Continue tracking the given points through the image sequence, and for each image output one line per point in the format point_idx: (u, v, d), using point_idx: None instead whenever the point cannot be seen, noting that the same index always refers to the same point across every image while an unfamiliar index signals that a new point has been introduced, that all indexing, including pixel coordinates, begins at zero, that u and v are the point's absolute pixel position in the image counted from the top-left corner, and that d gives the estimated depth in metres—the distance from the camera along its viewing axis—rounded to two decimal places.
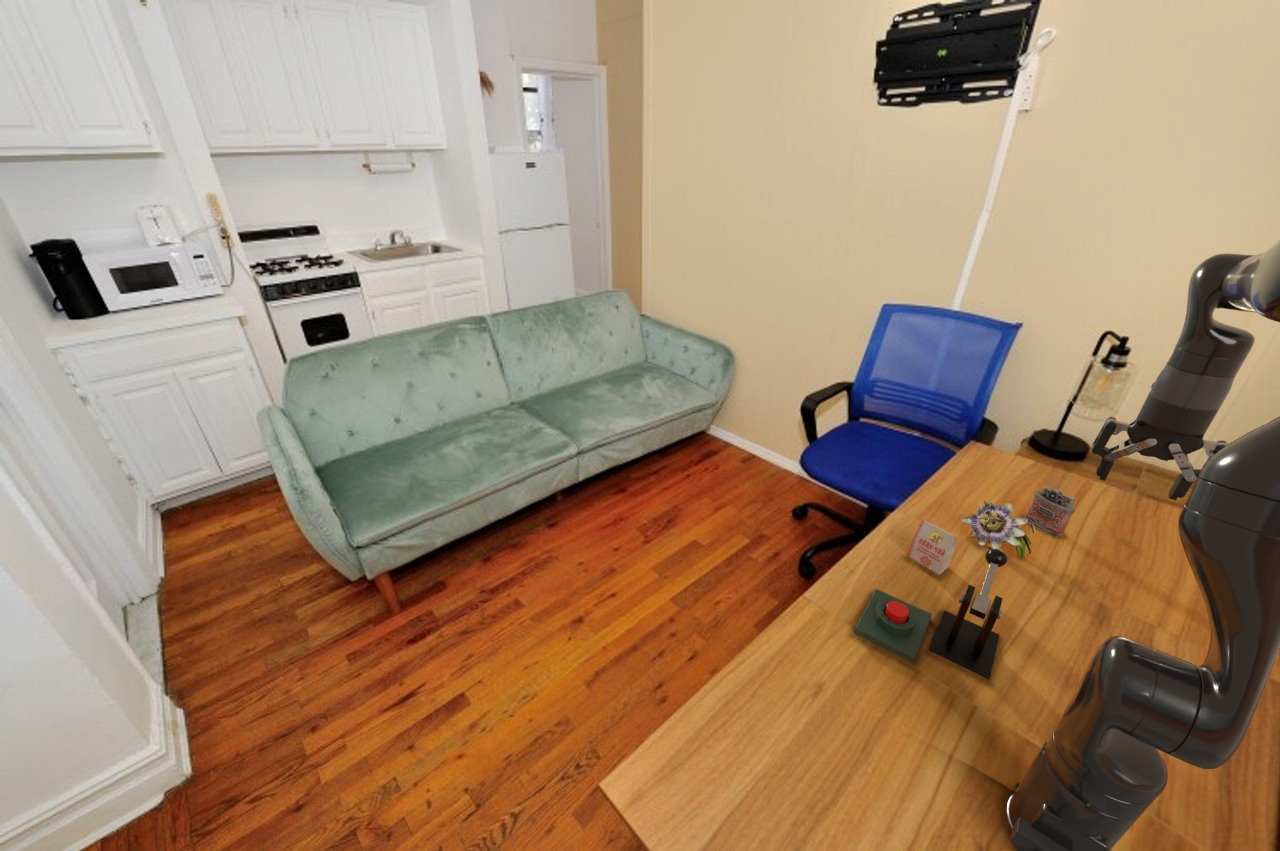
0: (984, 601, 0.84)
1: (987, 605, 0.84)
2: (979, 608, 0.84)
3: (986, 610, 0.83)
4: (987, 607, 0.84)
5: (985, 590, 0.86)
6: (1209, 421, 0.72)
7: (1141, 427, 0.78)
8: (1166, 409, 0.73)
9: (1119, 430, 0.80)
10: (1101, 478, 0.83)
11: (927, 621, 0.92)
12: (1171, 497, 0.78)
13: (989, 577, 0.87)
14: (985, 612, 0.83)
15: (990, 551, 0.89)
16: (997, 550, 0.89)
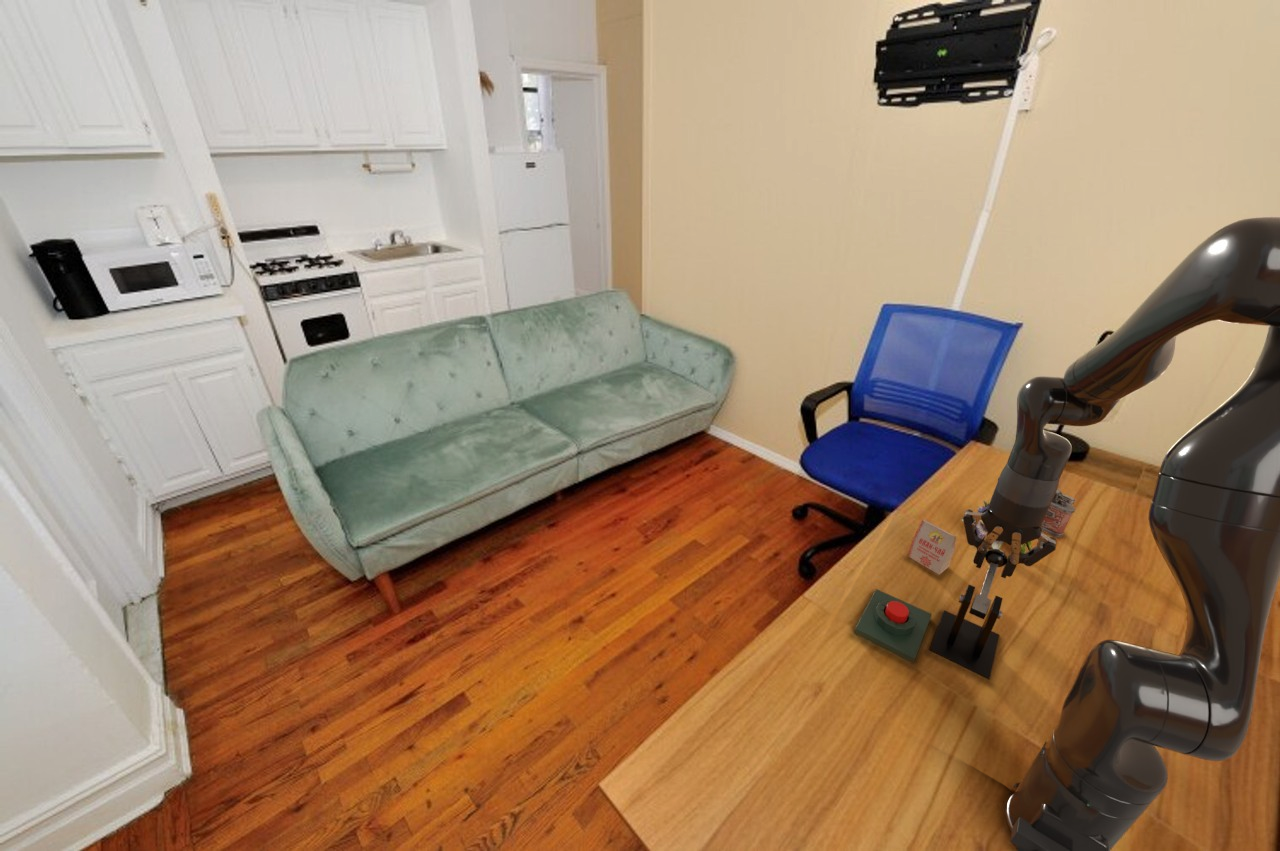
0: (984, 601, 0.84)
1: (987, 605, 0.84)
2: (979, 608, 0.84)
3: (986, 610, 0.83)
4: (987, 607, 0.84)
5: (985, 590, 0.86)
6: (1041, 516, 0.80)
7: (988, 514, 0.86)
8: (1006, 503, 0.82)
9: (976, 520, 0.88)
10: (977, 566, 0.91)
11: (927, 621, 0.92)
12: (1001, 576, 0.89)
13: (989, 577, 0.87)
14: (985, 612, 0.83)
15: (990, 551, 0.89)
16: (997, 550, 0.89)
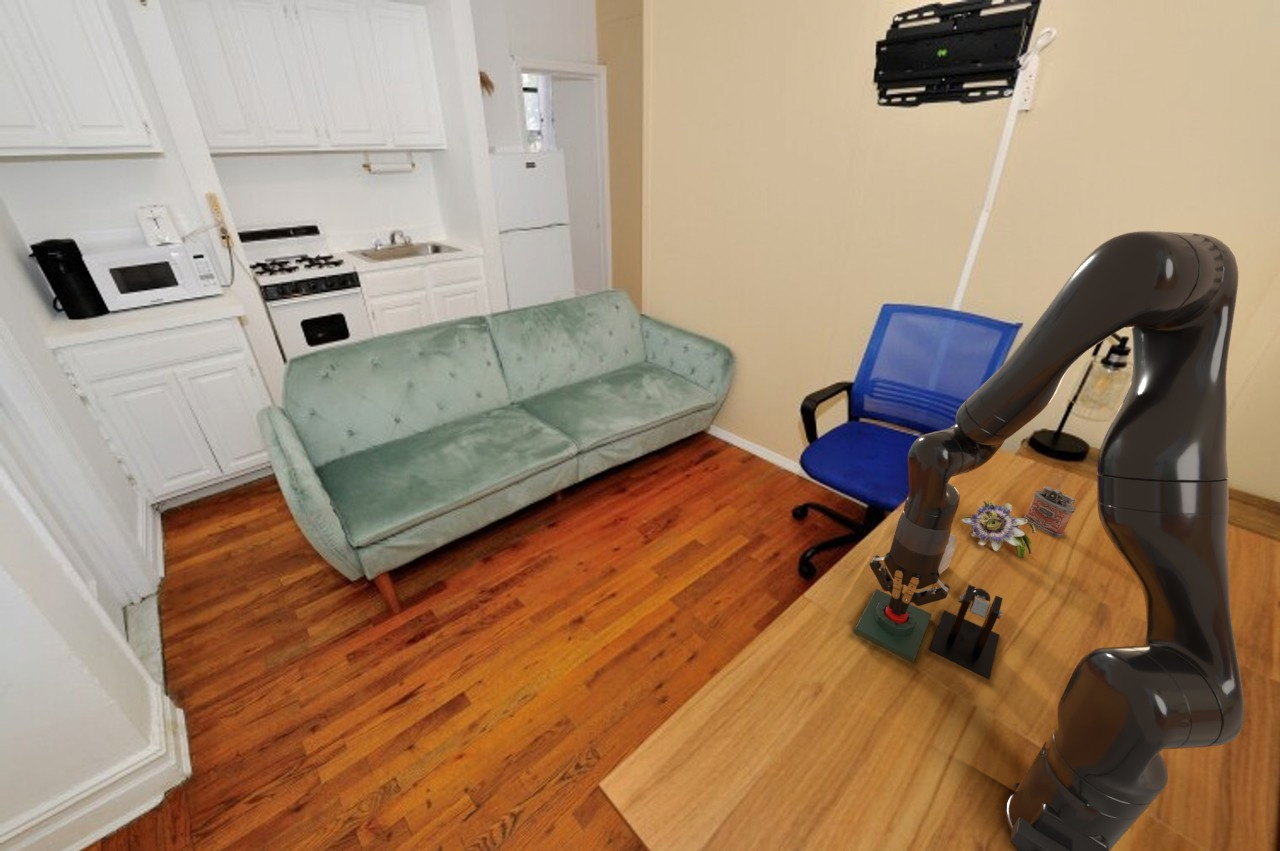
0: (984, 600, 0.85)
1: (988, 602, 0.85)
2: (982, 600, 0.84)
3: (988, 603, 0.84)
4: (988, 602, 0.84)
5: None
6: (935, 563, 0.81)
7: (888, 558, 0.87)
8: (902, 549, 0.82)
9: (882, 565, 0.89)
10: (892, 611, 0.91)
11: (927, 621, 0.92)
12: (896, 613, 0.90)
13: None
14: (988, 603, 0.83)
15: None
16: (980, 589, 0.94)
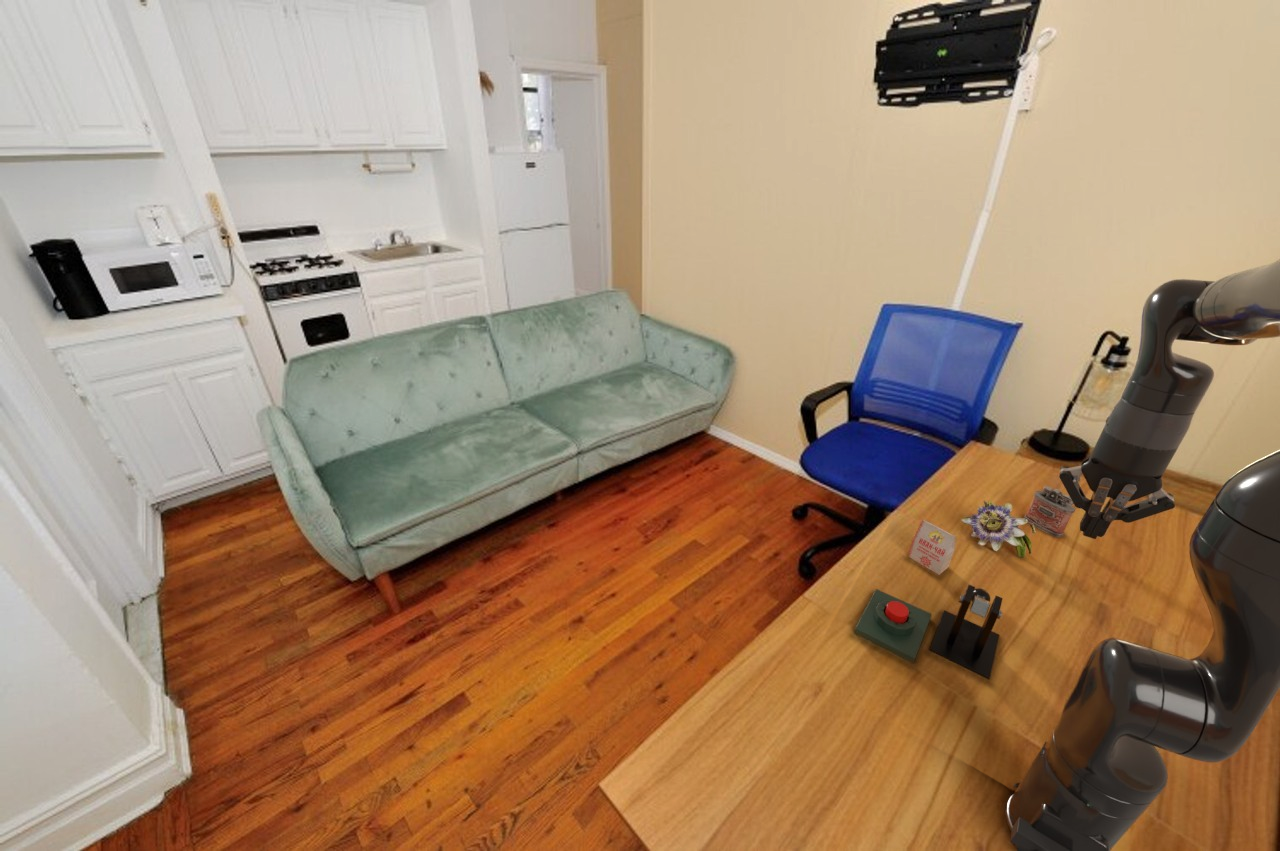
0: (984, 600, 0.85)
1: (988, 602, 0.85)
2: (982, 600, 0.84)
3: (988, 603, 0.84)
4: (988, 602, 0.84)
5: None
6: (1167, 462, 0.65)
7: (1089, 464, 0.71)
8: (1120, 447, 0.67)
9: (1077, 476, 0.73)
10: (1085, 534, 0.75)
11: (927, 621, 0.92)
12: (1091, 536, 0.74)
13: None
14: (988, 603, 0.83)
15: None
16: (980, 589, 0.94)
